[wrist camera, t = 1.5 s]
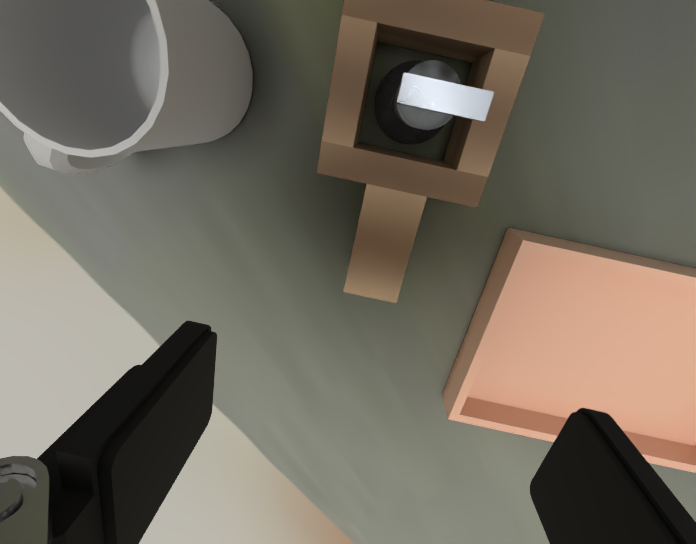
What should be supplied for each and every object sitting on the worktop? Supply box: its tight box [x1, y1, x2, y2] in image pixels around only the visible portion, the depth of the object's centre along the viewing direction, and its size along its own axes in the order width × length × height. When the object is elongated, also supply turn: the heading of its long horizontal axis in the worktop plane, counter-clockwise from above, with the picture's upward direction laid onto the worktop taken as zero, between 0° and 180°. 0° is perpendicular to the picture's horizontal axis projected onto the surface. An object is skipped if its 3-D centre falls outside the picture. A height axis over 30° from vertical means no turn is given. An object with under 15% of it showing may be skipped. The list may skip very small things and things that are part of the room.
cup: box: [0, 0, 253, 174], centre depth 16 cm, size 7×10×9 cm
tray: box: [442, 228, 696, 473], centre depth 23 cm, size 13×19×2 cm
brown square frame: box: [317, 0, 545, 303], centre depth 19 cm, size 14×8×4 cm, turn 169°
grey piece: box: [375, 60, 494, 144], centre depth 16 cm, size 4×4×8 cm
